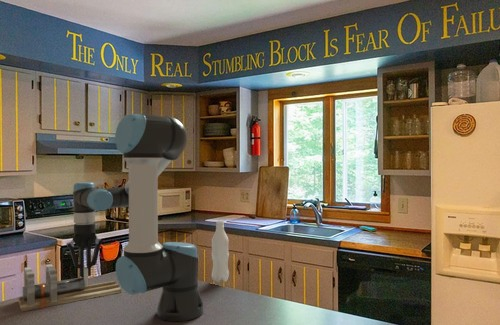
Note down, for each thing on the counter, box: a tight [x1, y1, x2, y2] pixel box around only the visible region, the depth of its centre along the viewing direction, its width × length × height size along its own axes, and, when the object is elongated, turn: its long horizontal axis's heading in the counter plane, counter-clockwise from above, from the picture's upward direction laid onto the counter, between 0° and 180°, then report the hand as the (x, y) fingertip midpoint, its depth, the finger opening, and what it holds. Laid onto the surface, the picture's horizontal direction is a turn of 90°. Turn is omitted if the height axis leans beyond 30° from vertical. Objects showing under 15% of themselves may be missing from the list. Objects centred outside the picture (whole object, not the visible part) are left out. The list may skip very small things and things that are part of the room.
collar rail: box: [17, 263, 122, 312], centre depth 149 cm, size 13×34×12 cm, turn 124°
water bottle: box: [211, 220, 230, 284], centre depth 167 cm, size 7×7×25 cm
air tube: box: [21, 277, 85, 301], centre depth 146 cm, size 20×5×5 cm, turn 124°
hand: (85, 284), depth 152 cm, fingers closed
